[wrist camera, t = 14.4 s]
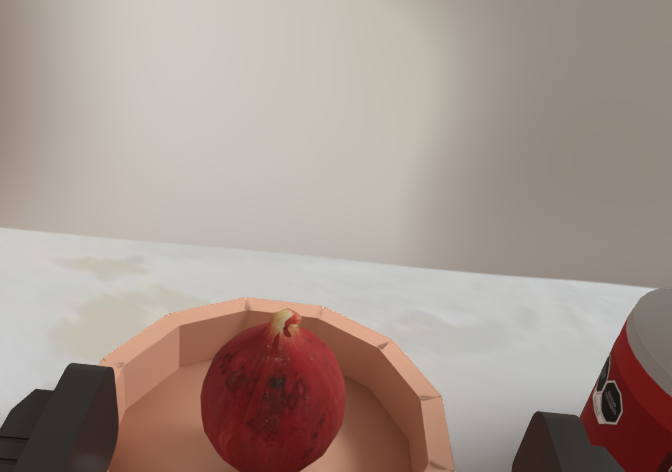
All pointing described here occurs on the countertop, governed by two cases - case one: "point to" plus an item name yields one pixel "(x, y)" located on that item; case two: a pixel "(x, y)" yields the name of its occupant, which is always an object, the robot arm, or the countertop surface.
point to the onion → (273, 397)
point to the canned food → (637, 390)
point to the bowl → (195, 359)
